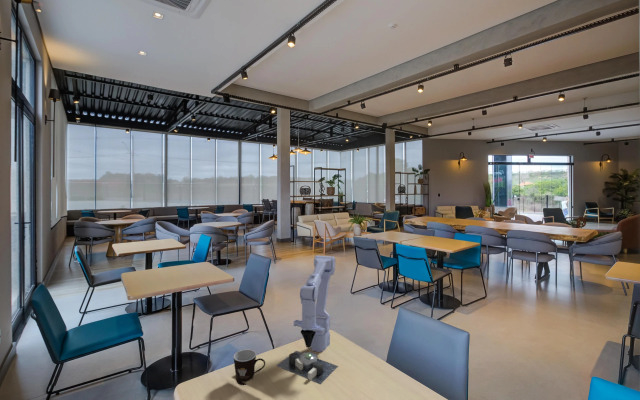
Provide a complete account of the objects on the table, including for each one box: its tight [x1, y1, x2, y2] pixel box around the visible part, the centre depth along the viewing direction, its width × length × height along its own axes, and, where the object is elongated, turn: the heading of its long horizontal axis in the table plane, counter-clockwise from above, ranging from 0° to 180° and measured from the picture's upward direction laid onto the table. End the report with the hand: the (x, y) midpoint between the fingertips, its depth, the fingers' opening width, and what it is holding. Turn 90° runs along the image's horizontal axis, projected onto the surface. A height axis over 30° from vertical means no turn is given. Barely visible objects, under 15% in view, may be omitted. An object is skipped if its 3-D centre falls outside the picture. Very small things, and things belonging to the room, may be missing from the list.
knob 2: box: [307, 362, 323, 381], centre depth 121 cm, size 8×4×3 cm, turn 148°
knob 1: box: [289, 352, 303, 370], centre depth 127 cm, size 8×4×3 cm, turn 35°
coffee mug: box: [233, 348, 266, 386], centre depth 118 cm, size 12×9×10 cm
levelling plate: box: [275, 350, 339, 385], centre depth 127 cm, size 14×22×6 cm, turn 58°
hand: (308, 346), depth 127 cm, fingers closed
